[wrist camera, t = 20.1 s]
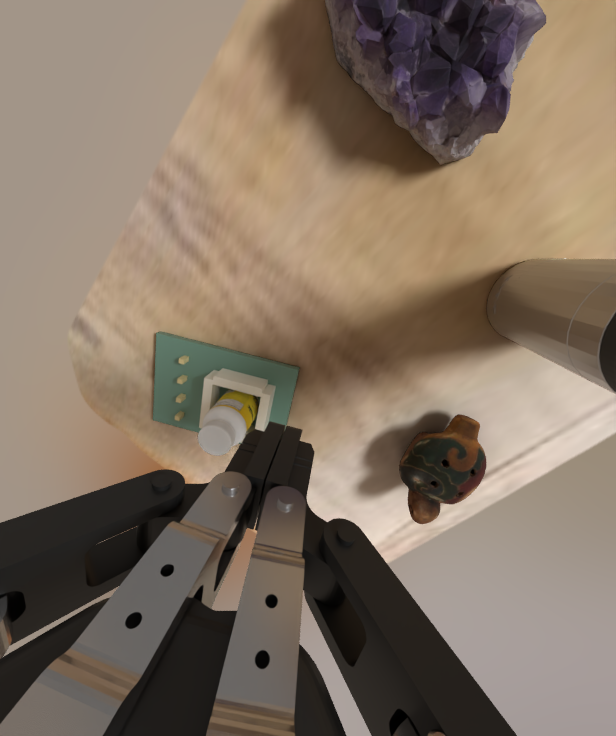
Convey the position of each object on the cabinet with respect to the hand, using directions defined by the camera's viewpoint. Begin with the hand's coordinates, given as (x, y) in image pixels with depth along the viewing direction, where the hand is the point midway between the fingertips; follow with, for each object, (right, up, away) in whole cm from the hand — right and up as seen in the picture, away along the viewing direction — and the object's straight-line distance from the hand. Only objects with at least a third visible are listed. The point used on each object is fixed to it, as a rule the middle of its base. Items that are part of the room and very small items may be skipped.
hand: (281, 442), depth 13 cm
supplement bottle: (-8, -2, +30) cm, 31 cm away
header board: (-11, -1, +31) cm, 33 cm away
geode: (+11, +32, +16) cm, 38 cm away
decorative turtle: (+19, -8, +30) cm, 36 cm away
